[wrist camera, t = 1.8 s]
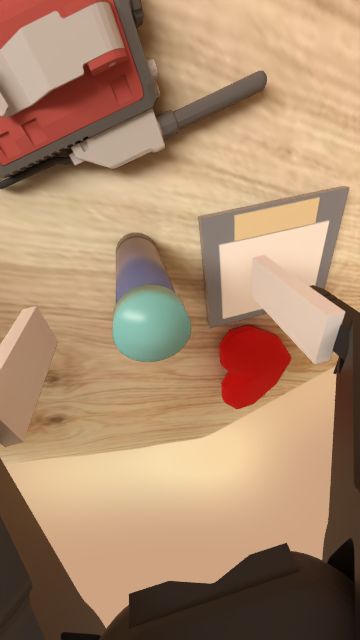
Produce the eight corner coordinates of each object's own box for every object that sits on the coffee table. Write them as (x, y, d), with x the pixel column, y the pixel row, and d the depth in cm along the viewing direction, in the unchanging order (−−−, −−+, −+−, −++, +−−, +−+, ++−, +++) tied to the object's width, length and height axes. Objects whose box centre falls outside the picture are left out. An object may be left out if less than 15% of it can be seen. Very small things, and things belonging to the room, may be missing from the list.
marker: (121, 277, 23) (125, 369, 13) (108, 236, 20) (101, 310, 11) (161, 268, 23) (195, 351, 13) (153, 226, 21) (185, 290, 11)
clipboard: (208, 324, 28) (210, 329, 27) (198, 216, 21) (201, 219, 20) (317, 296, 29) (323, 300, 28) (342, 186, 22) (351, 187, 21)
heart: (281, 309, 32) (212, 327, 29) (306, 321, 28) (229, 343, 26) (276, 379, 37) (217, 399, 35) (296, 397, 33) (231, 421, 31)
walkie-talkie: (18, 215, 18) (258, 102, 18) (-5, 230, 15) (294, 89, 14) (-101, 58, 13) (233, -112, 12) (-181, 23, 10) (280, -218, 9)
